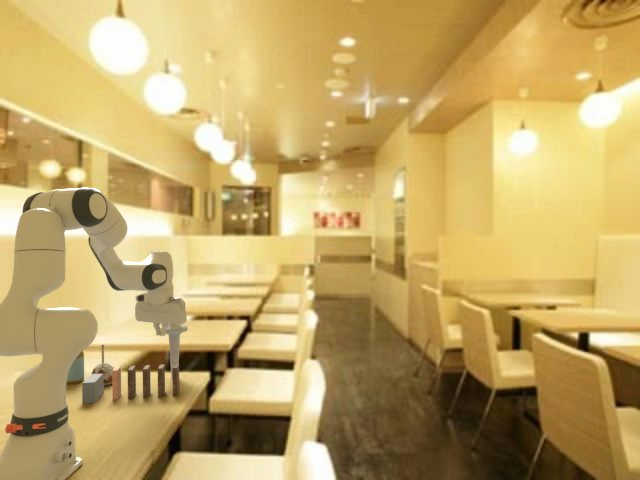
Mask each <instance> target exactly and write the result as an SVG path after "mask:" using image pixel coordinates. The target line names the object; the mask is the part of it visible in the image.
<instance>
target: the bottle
mask: <svg viewBox="0 0 640 480" xmlns="http://www.w3.org/2000/svg"><path fill="white" fill-rule="evenodd" d="M84 381H85V352H84V350H83V351H82V352H81V353H80V354H79V355H78V356H77V357H76V359H75V360H74V362H73V363H72V365H71V367H70V369H69V372H68V376H67V384H66V385H74V384H79V383H83V382H84Z"/></svg>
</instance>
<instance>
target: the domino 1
mask: <svg viewBox="0 0 640 480" xmlns="http://www.w3.org/2000/svg"><path fill="white" fill-rule="evenodd" d="M111 385H112V390H111V391H112V400H118V399H119V398H120V397H121V395H122V366H115V367H113V370H112V384H111Z"/></svg>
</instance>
